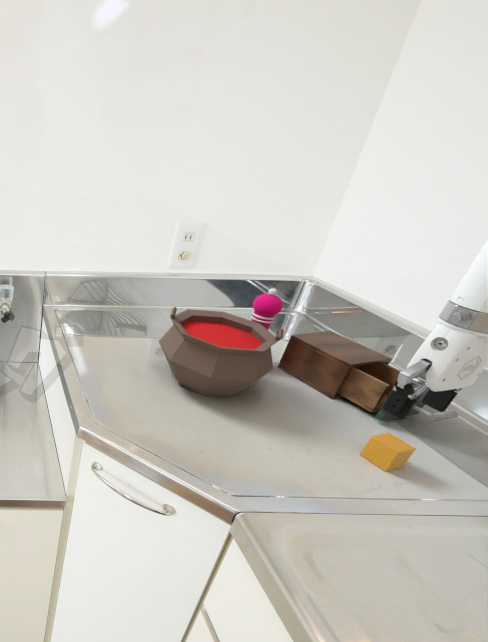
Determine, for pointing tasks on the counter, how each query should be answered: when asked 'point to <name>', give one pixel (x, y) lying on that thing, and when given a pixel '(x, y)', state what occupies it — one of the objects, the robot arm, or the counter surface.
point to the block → (387, 451)
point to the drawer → (382, 391)
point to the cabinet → (326, 360)
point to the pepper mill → (266, 308)
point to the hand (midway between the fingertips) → (412, 410)
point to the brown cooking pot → (217, 351)
